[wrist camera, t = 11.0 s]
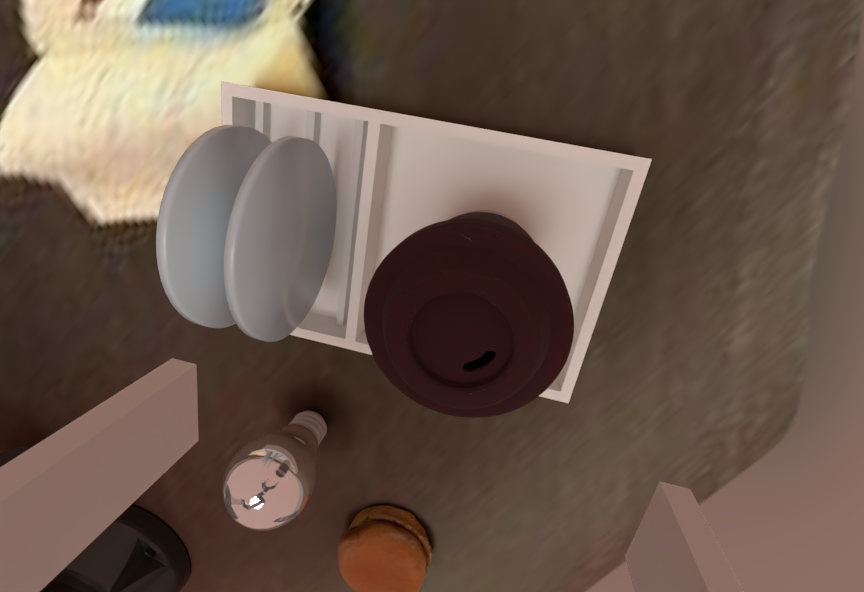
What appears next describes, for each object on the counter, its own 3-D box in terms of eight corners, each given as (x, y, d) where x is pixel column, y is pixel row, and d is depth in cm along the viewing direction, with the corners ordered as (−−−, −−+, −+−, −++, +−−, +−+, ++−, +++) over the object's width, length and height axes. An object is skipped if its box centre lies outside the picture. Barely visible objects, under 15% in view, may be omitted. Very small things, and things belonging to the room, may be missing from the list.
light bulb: (275, 386, 42) (187, 476, 30) (342, 385, 40) (275, 479, 29) (292, 446, 44) (216, 550, 33) (356, 447, 42) (299, 556, 31)
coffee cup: (416, 191, 32) (339, 231, 18) (555, 188, 30) (588, 229, 16) (422, 316, 35) (361, 431, 21) (547, 320, 33) (571, 448, 19)
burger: (388, 487, 43) (374, 526, 39) (452, 546, 45) (445, 590, 40) (329, 529, 47) (310, 568, 43) (389, 582, 48) (377, 625, 44)
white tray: (251, 301, 39) (223, 318, 35) (254, 88, 32) (221, 81, 29) (562, 376, 36) (568, 403, 32) (634, 156, 29) (651, 159, 26)
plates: (279, 289, 37) (163, 361, 25) (285, 127, 32) (147, 119, 20) (329, 300, 36) (236, 380, 24) (343, 138, 31) (236, 137, 19)
